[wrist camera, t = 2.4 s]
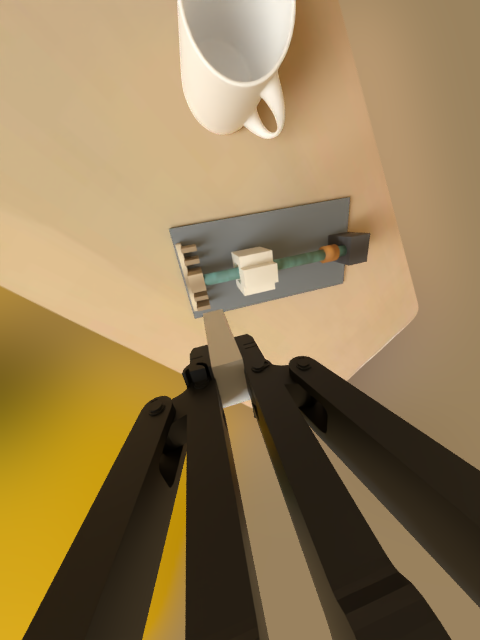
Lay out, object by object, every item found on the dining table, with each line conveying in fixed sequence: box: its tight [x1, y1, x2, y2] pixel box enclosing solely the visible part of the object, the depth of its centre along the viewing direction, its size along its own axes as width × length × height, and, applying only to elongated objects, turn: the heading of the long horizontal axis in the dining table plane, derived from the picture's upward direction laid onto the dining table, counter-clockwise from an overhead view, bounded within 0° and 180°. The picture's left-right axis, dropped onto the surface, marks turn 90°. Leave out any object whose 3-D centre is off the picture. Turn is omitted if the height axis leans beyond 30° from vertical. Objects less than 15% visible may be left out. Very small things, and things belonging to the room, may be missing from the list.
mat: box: [169, 197, 350, 318], centre depth 33 cm, size 14×28×1 cm, turn 99°
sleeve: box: [231, 246, 279, 296], centre depth 28 cm, size 5×4×7 cm
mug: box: [177, 0, 296, 139], centre depth 20 cm, size 9×12×11 cm
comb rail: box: [175, 232, 370, 311], centre depth 31 cm, size 10×27×6 cm, turn 99°
